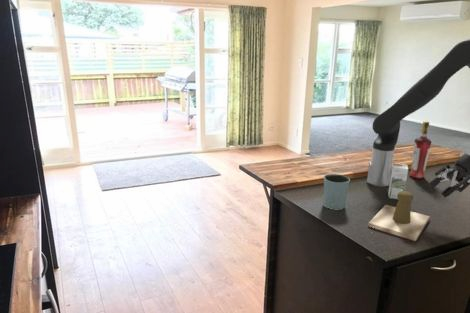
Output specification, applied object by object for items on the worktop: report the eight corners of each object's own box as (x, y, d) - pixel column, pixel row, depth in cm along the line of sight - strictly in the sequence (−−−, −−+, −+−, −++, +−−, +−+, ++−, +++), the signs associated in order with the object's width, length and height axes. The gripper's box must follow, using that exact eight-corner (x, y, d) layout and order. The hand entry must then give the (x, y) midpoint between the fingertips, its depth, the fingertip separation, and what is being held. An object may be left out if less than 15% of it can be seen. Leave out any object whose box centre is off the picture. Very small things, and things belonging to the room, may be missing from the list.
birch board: (368, 226, 131) (368, 222, 131) (385, 208, 146) (385, 204, 146) (415, 241, 122) (416, 237, 121) (428, 219, 137) (429, 216, 136)
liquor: (406, 174, 185) (415, 120, 176) (421, 175, 184) (431, 120, 175) (411, 179, 178) (420, 123, 170) (427, 180, 177) (437, 123, 169)
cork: (389, 216, 136) (393, 189, 132) (404, 216, 136) (409, 188, 133) (397, 224, 130) (402, 195, 127) (413, 223, 131) (418, 195, 127)
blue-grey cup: (319, 208, 145) (322, 180, 142) (322, 198, 154) (325, 172, 151) (346, 212, 142) (349, 184, 138) (347, 202, 151) (350, 175, 147)
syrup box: (401, 195, 159) (407, 164, 154) (403, 200, 153) (408, 168, 149) (387, 193, 160) (392, 162, 156) (388, 198, 155) (393, 166, 151)
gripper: (456, 148, 134) (420, 177, 137) (481, 159, 120) (441, 191, 123) (467, 161, 135) (432, 190, 138) (494, 174, 122) (453, 206, 125)
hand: (436, 190), depth 131 cm, fingers open, 8 cm apart
